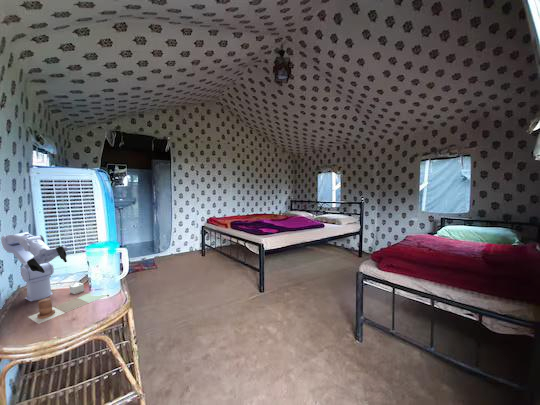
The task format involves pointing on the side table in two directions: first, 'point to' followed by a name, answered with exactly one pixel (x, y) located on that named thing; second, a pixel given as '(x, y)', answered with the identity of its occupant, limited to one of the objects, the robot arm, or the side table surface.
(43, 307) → the pawn
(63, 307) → the board
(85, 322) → the side table surface
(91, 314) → the side table surface
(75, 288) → the die
